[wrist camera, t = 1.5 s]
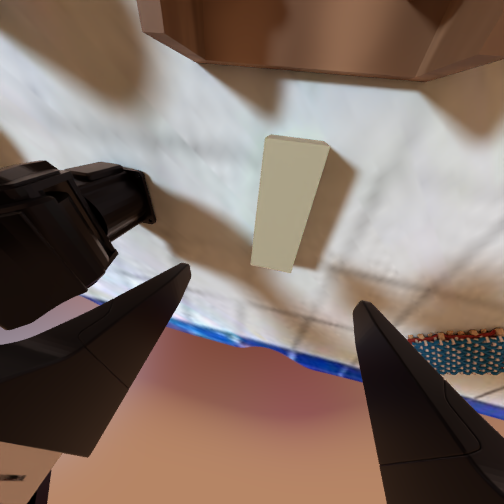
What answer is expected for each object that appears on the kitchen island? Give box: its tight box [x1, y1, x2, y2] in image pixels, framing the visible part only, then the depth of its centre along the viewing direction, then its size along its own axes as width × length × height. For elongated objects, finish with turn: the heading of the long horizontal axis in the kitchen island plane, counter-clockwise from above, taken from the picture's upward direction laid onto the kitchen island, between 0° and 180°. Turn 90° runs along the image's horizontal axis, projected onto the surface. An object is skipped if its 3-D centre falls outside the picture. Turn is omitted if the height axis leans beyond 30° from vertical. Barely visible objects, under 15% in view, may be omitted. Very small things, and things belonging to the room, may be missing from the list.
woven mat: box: [407, 328, 504, 375], centre depth 26 cm, size 10×11×2 cm
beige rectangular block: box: [250, 135, 330, 273], centre depth 17 cm, size 12×4×4 cm, turn 175°
